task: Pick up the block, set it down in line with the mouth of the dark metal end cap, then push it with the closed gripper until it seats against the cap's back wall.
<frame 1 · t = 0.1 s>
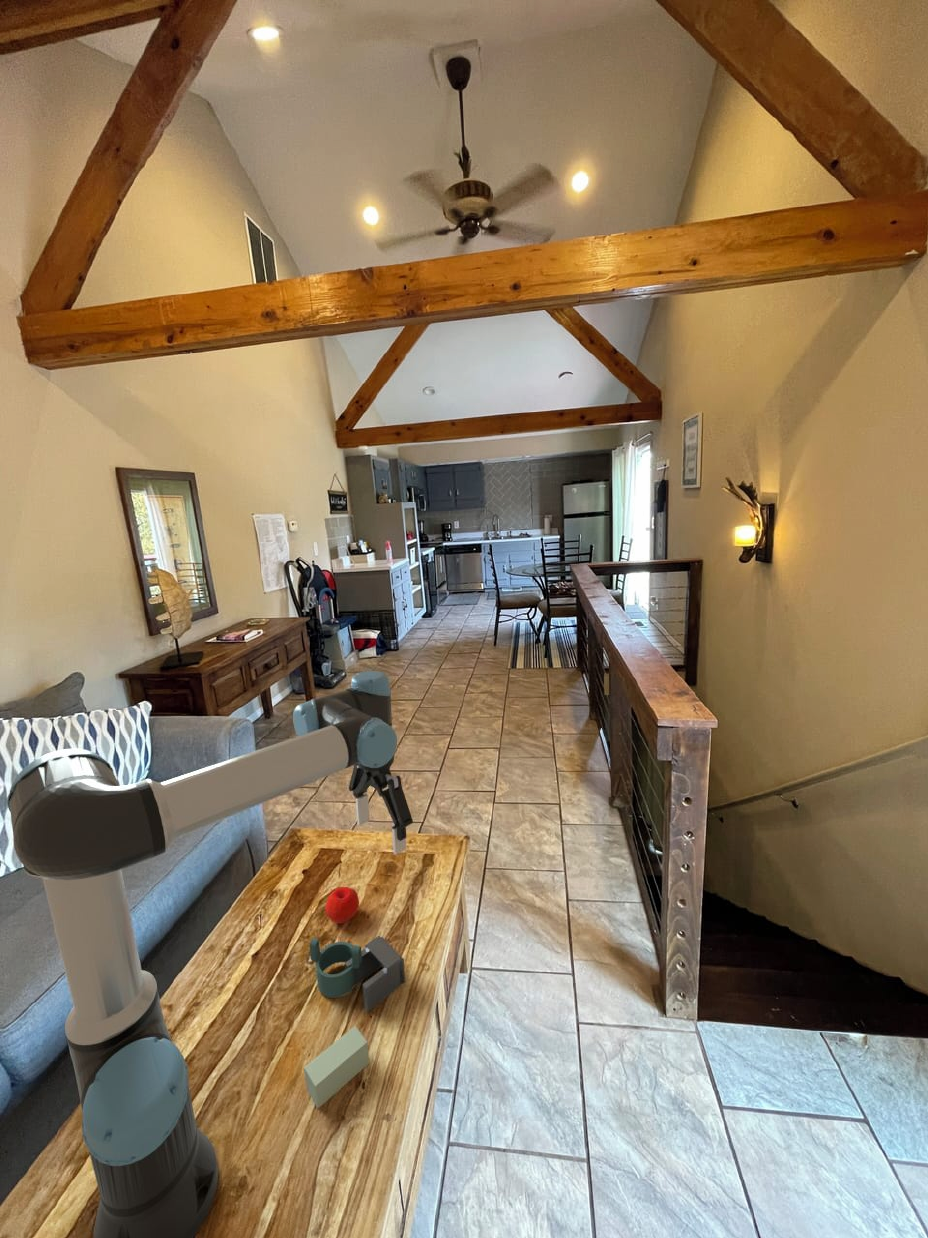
hand: (381, 836, 109), 28 cm above the table, fingers open, 13 cm apart
endcap: (373, 986, 105), on the table
bracket: (338, 977, 107), on the table, touching endcap
apple: (343, 919, 122), on the table
block: (338, 1076, 88), on the table
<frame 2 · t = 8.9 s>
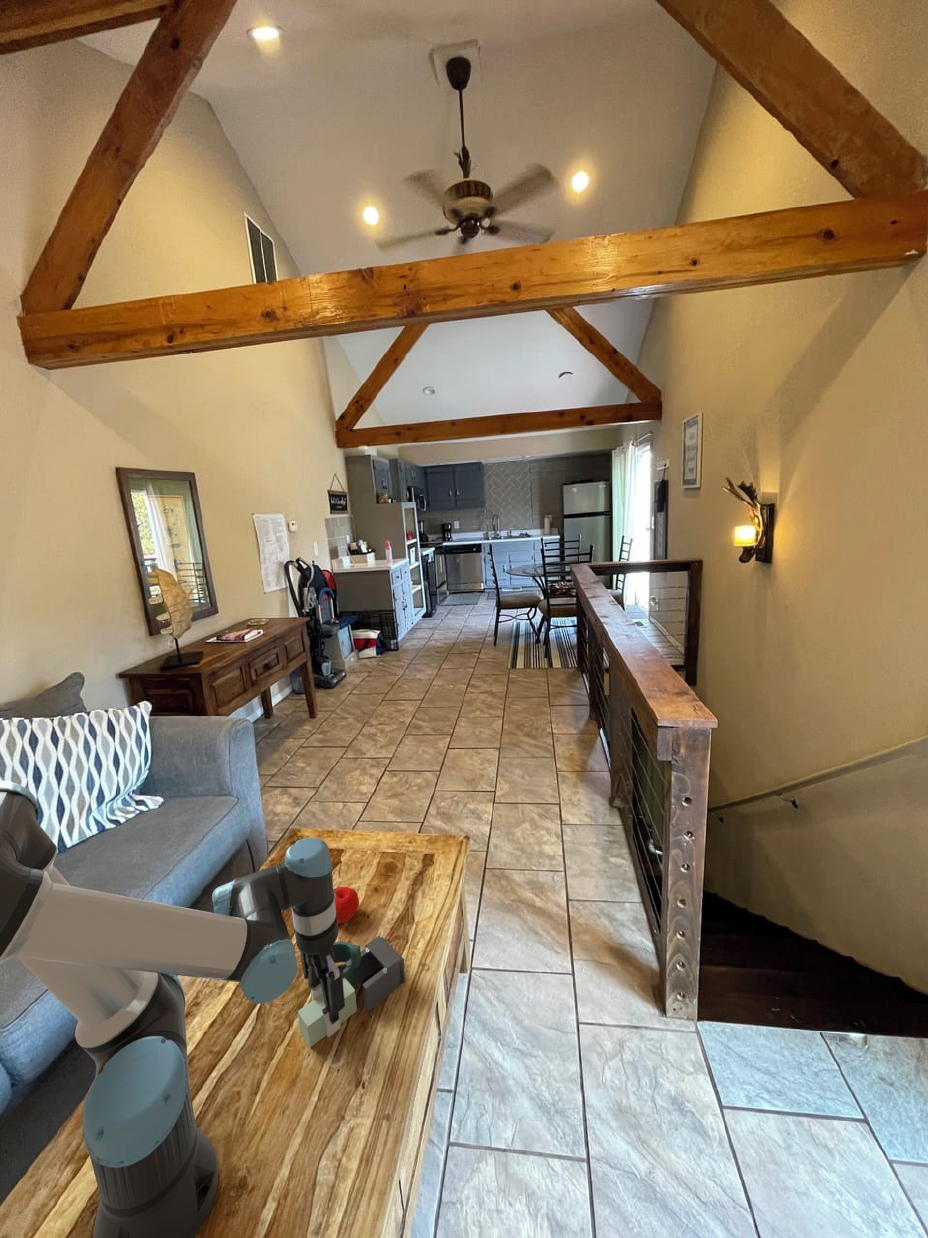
hand: (327, 1022, 98), 0 cm above the table, fingers open, 4 cm apart
block: (329, 1021, 98), on the table
everything else where it was.
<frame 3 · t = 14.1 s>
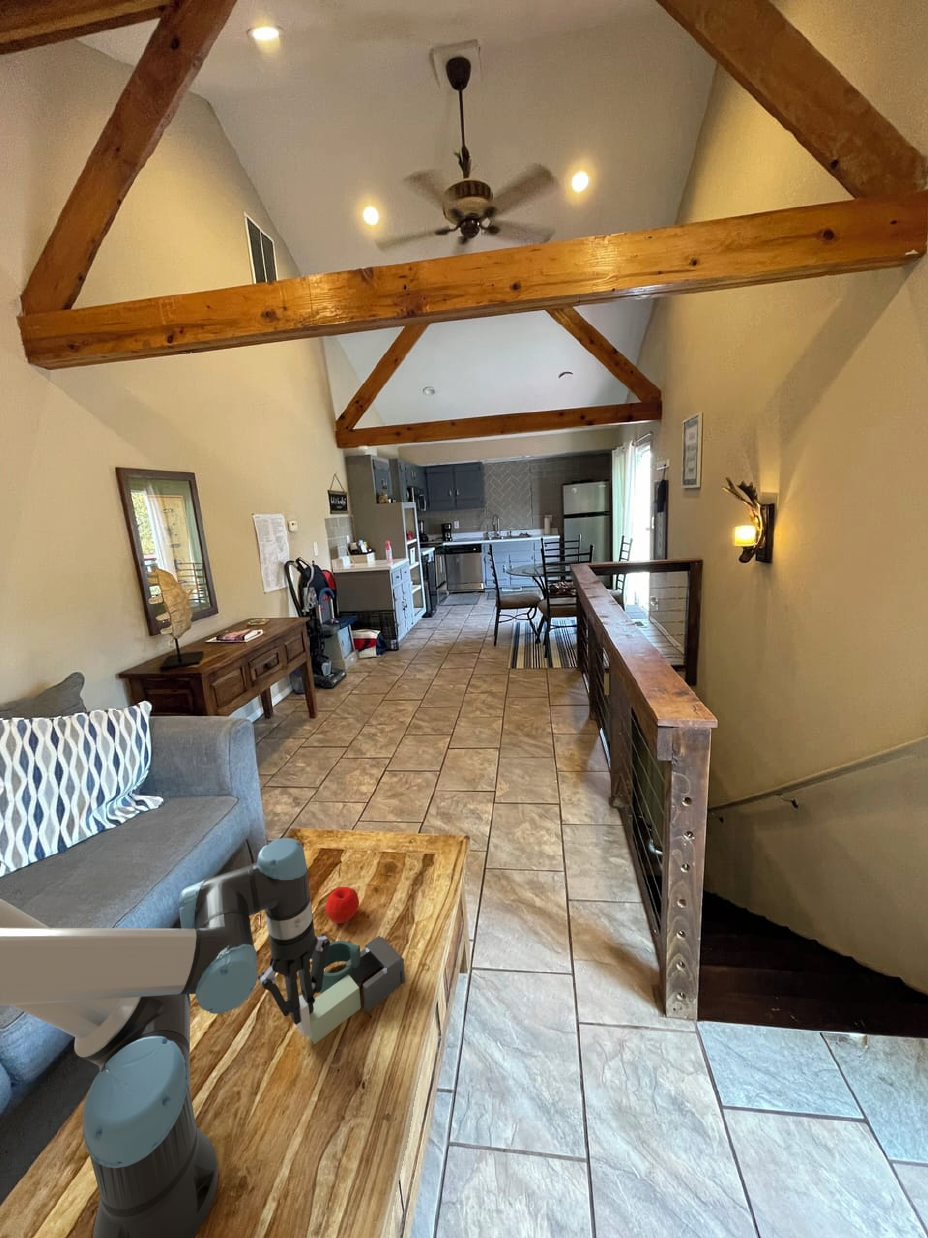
hand: (304, 1030, 94), 2 cm above the table, fingers closed
block: (333, 1018, 98), on the table, touching gripper
everything else where it was.
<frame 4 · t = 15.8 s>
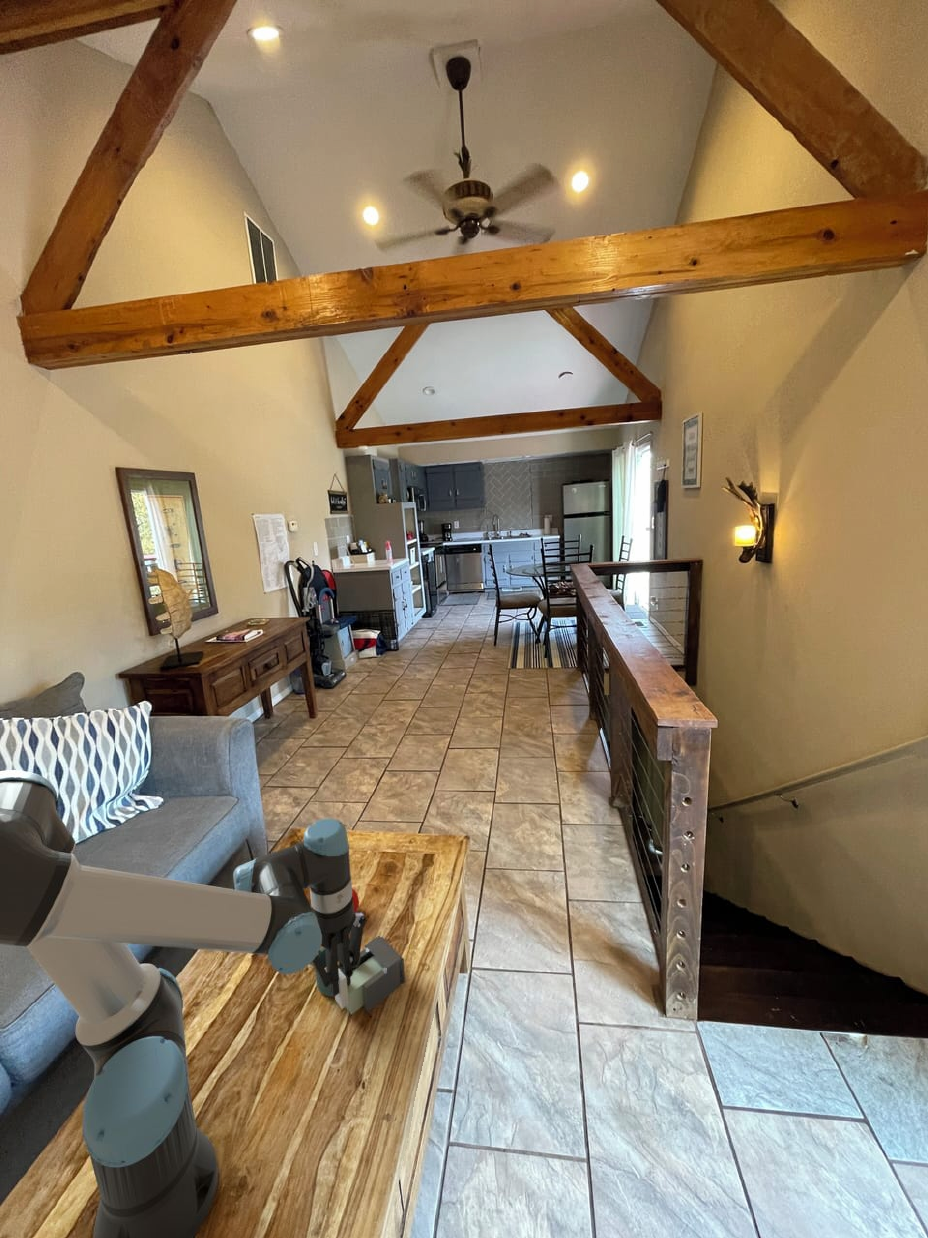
hand: (342, 1002, 100), 2 cm above the table, fingers closed
block: (367, 991, 104), on the table, touching gripper
everything else where it was.
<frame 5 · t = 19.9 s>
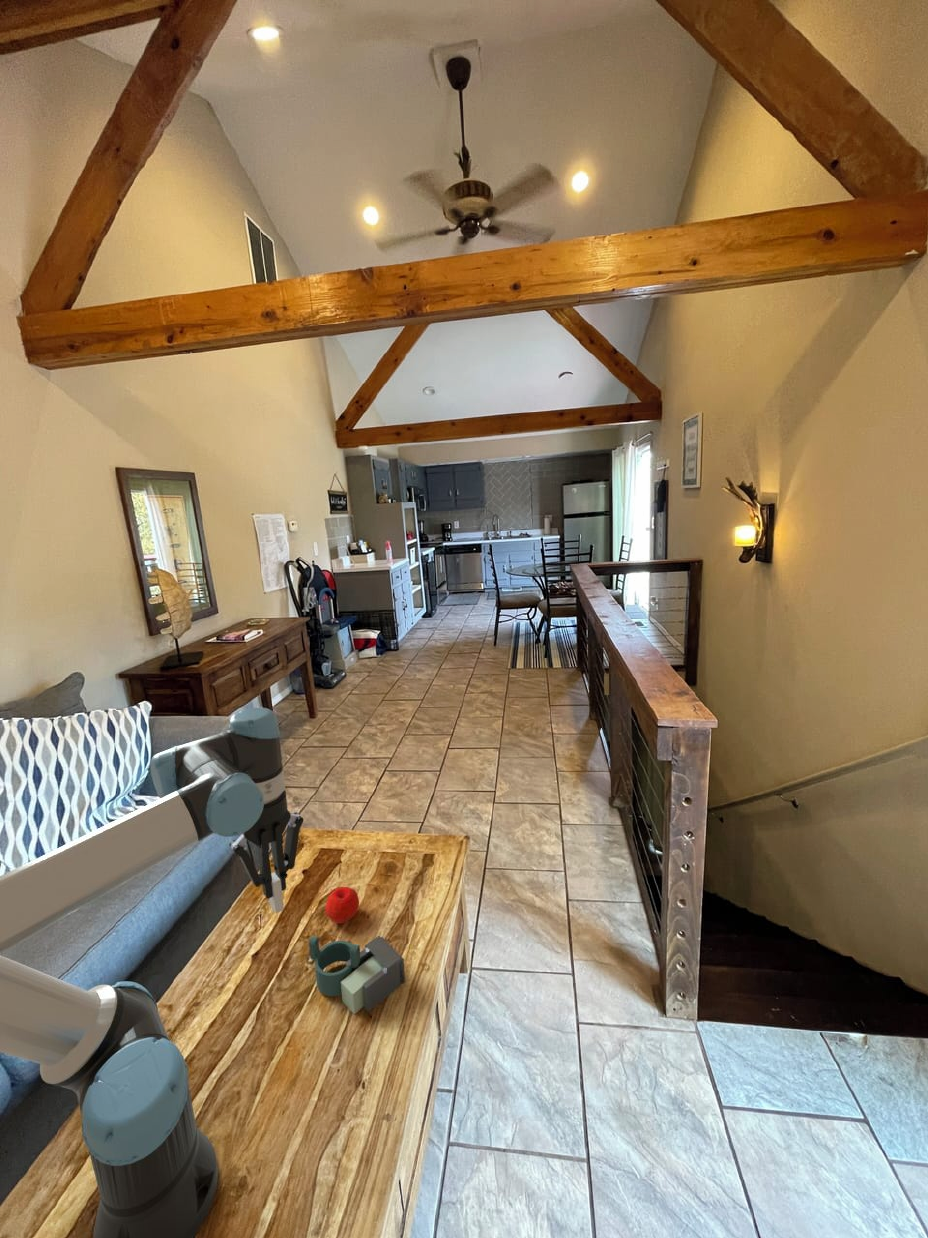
hand: (277, 907, 94), 24 cm above the table, fingers closed
block: (368, 990, 104), on the table
everything else where it was.
at the end: block 0.3 cm from the target spot on the endcap, point 0.0 cm above the endcap's base; block tilted 0°; the gripper is holding nothing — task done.
